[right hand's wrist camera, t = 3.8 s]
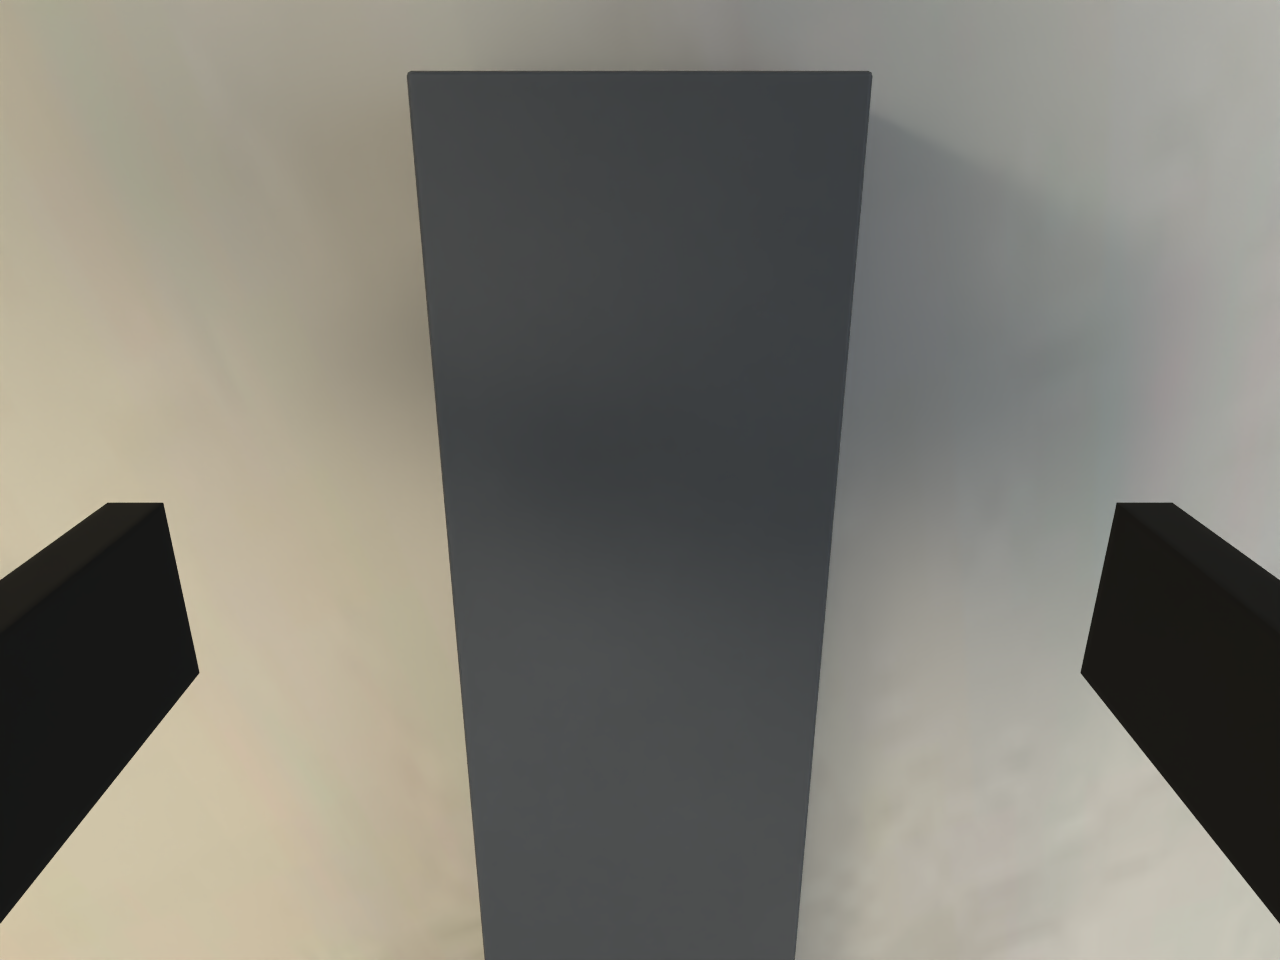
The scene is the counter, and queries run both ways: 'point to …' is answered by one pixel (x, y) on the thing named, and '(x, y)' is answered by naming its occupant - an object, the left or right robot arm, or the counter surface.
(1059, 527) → the counter surface
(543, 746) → the thick board
